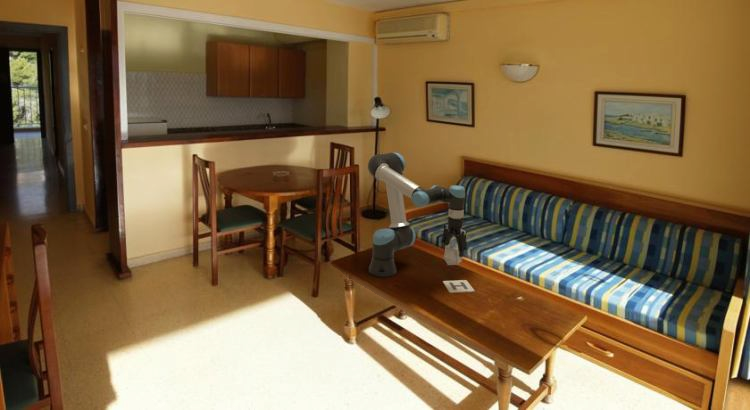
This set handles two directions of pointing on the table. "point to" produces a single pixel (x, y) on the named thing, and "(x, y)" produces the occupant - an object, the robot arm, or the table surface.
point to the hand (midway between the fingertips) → (452, 259)
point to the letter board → (458, 286)
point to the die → (451, 256)
